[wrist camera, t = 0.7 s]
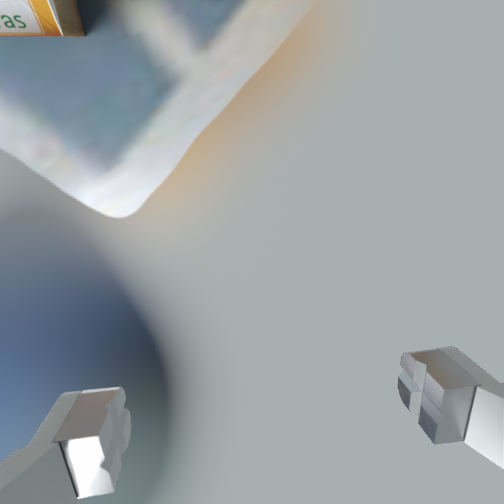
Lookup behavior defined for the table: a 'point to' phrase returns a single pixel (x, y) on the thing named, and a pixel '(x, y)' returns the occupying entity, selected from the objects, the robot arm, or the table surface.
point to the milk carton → (40, 18)
